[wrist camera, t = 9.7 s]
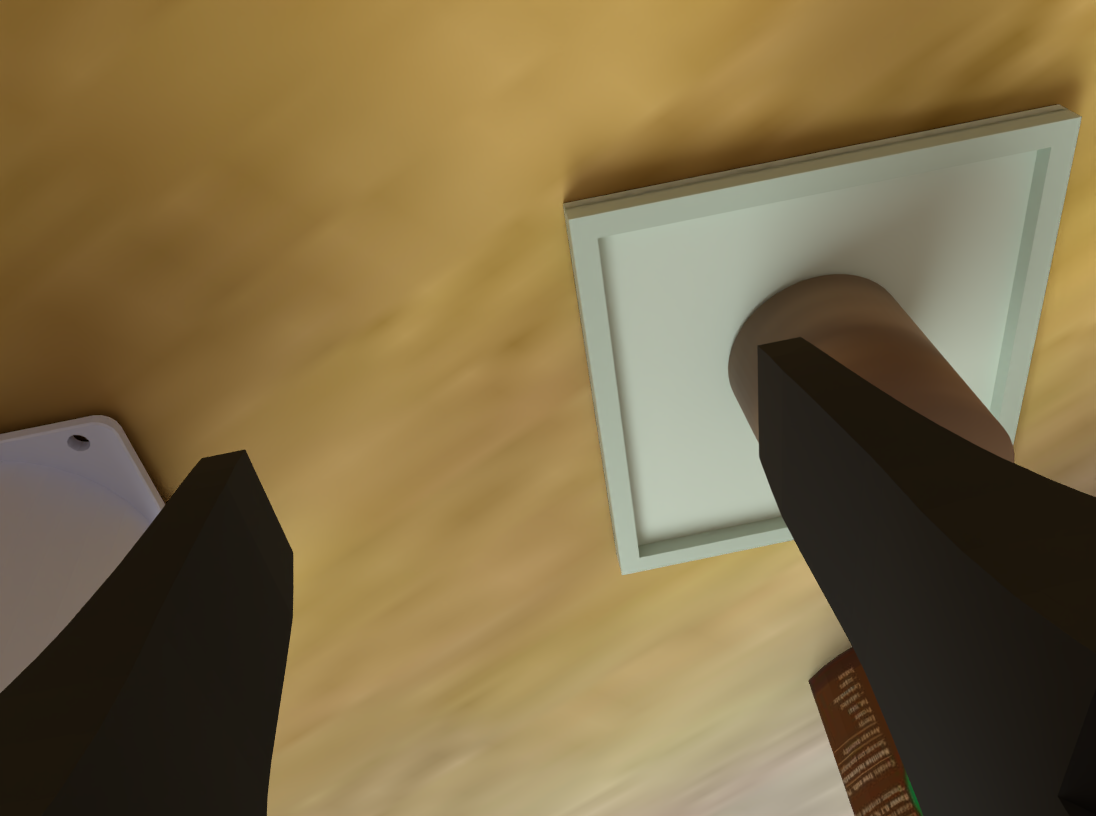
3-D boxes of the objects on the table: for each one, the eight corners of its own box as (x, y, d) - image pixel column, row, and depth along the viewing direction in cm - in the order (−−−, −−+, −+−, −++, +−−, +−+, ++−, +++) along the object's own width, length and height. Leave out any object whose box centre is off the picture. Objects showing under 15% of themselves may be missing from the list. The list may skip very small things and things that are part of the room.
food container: (1122, 633, 35) (1337, 898, 27) (1013, 727, 38) (1177, 991, 30) (879, 561, 30) (1049, 853, 22) (776, 673, 33) (894, 966, 25)
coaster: (616, 554, 29) (622, 575, 28) (562, 203, 21) (568, 219, 21) (987, 477, 29) (1002, 497, 28) (1059, 104, 21) (1081, 116, 21)
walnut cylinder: (749, 445, 26) (820, 592, 22) (708, 317, 23) (782, 458, 19) (911, 385, 25) (1018, 523, 21) (891, 245, 23) (1010, 374, 18)
